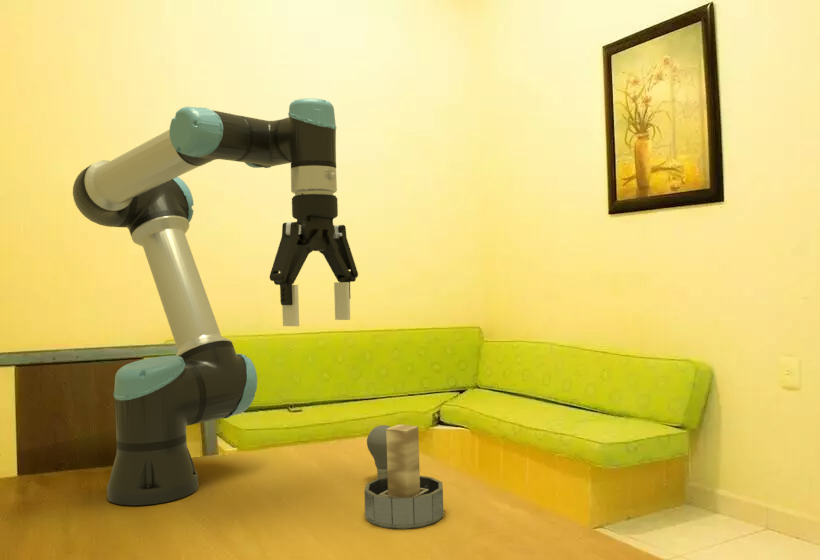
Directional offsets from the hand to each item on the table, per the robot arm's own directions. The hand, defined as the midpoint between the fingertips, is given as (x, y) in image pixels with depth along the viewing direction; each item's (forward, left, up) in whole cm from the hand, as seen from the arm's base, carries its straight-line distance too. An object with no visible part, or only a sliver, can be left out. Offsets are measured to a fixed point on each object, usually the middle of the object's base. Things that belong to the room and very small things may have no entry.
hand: (318, 323), depth 119 cm
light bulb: (+3, +14, -30) cm, 33 cm away
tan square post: (+16, 0, -29) cm, 33 cm away
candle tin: (+16, 0, -30) cm, 34 cm away
